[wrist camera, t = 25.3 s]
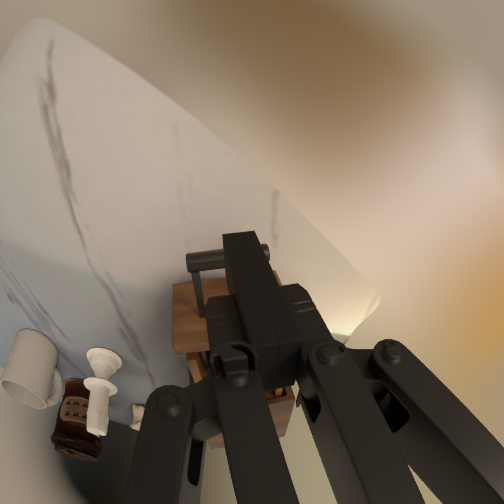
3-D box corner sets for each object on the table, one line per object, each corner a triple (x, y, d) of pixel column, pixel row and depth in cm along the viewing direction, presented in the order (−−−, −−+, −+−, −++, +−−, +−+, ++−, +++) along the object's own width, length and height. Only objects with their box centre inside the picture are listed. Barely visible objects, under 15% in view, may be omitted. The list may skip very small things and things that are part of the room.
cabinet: (187, 351, 33) (193, 416, 26) (274, 338, 35) (295, 399, 27) (203, 399, 41) (211, 449, 33) (270, 388, 43) (284, 436, 35)
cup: (33, 322, 26) (13, 376, 19) (80, 365, 32) (71, 417, 24) (10, 333, 26) (-8, 381, 19) (53, 372, 32) (44, 419, 24)
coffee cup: (60, 367, 31) (46, 440, 20) (108, 382, 35) (103, 457, 24) (61, 390, 34) (52, 453, 24) (103, 403, 38) (100, 466, 27)
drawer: (160, 227, 23) (152, 284, 16) (277, 214, 24) (310, 263, 18) (194, 361, 33) (199, 413, 27) (271, 350, 35) (287, 398, 29)
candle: (128, 357, 32) (124, 438, 22) (114, 373, 34) (109, 446, 24) (93, 341, 29) (80, 424, 20) (82, 359, 31) (70, 433, 21)
